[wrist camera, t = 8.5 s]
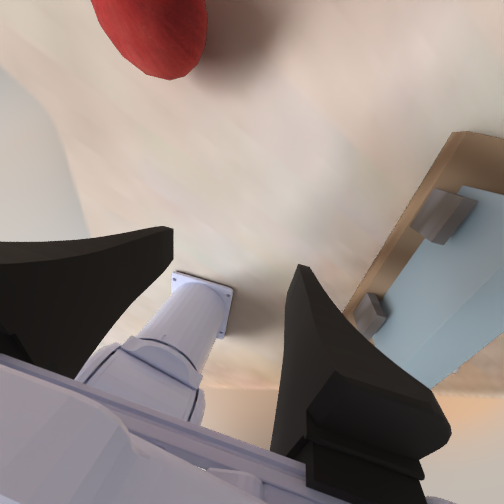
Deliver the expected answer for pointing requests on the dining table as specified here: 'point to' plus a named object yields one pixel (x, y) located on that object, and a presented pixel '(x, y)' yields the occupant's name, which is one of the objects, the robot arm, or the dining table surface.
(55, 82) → the dining table surface
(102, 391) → the robot arm
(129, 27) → the onion
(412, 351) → the pale blue rectangular block
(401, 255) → the rail
